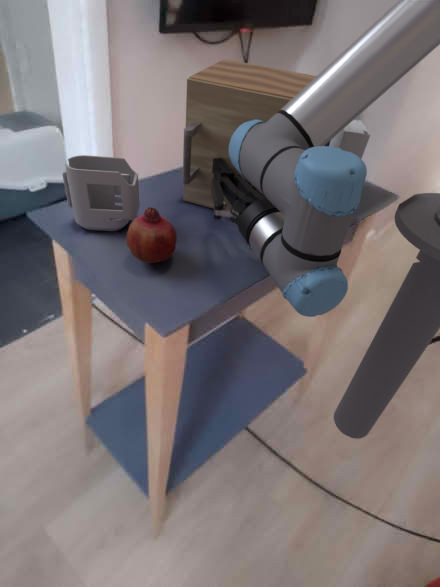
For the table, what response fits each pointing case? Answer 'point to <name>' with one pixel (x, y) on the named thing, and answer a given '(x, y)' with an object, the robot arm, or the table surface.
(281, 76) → the cupboard
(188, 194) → the cupboard door
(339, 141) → the cosmetic box
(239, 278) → the table surface
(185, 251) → the table surface
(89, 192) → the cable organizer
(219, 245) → the table surface
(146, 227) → the fruit
